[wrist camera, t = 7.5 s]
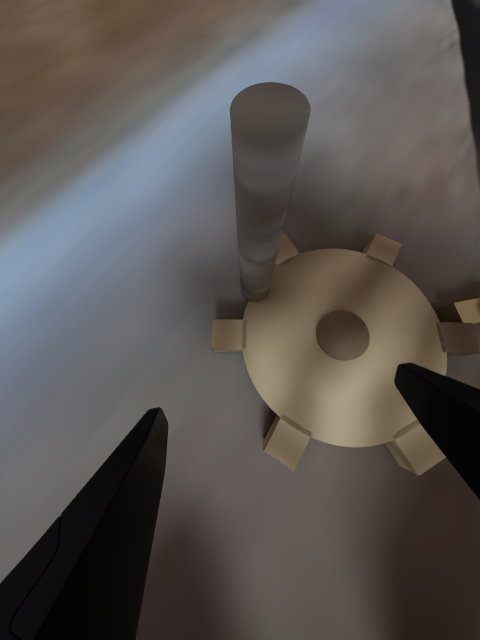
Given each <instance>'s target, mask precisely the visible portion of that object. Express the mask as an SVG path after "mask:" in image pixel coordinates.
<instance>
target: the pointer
mask: <svg viewBox="0 0 480 640" xmlns="http://www.w3.org/2000/svg"><path fill="white" fill-rule="evenodd" d="M438 310H439V312H440V314H441V316H442V318H443V321H444V322H452V323H472V325H474V324H479V323H480V298H477V299H471V300H466V301H461V302H456V303H452V304H450V305H447V306H445V307H442V308H440V309H438Z"/></svg>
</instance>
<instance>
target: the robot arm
mask: <svg viewBox="0 0 480 640" xmlns="http://www.w3.org/2000/svg"><path fill="white" fill-rule="evenodd" d="M394 384H395V386H396V388H397V389H398V391H399V392H400V394H401V396H402V397H403V399H404V400H405V402H406V403H407V405H408V406H409V408H410V409H411V411H412V412H413V414H414V416H415V417H416V419H417V420H418V421H419V423H420V424H421V426H422V427H423V428H424V430H425V431H426V432H427V434H428V435H429V436H430V437H431V439H432V440H433V441H434V442H435V444H436V445H437V446H438V448H439V449H440V450H441V451H442V453H443V454H444V455H445V456H446V458H447V459H448V460H449V462H450V463H451V464H452V465H453V467H454V468H455V469H456V470H457V472H458V473H459V474H460V476H461V477H462V478H463V479H464V481H465V482H466V483H467V484H468V486H469V487H470V488H471V490H472V491H473V492H474V493H475V495H476V496H477V497H478V498H479V500H480V389H477V388H475V387H472V386H470V385H467V384H465V383H462V382H460V381H457V380H455V379H452V378H449V377H447V376H444V375H442V374H439V373H437V372H434V371H432V370H429V369H427V368H424V367H422V366H419V365H417V364H414V363H411V362H408V363H402V364H399V365H398V366H397V370H396V374H395V378H394ZM167 439H168V421H167V419H166V417H165V415H164V412H163V410H162V409H161V408H160V407H158V408H152V409H149V410H148V411H147V412H146V413H145V414H144V416H143V417H142V418H141V419H140V420H139V422H138V423H137V424H136V425H135V426H134V428H133V429H132V430H131V431H130V432H129V434H128V435H127V436H126V437H125V438H124V439H123V441H122V442H121V443H120V444H119V445H118V447H117V448H116V449H115V450H114V451H113V453H112V454H111V455H110V456H109V457H108V459H107V460H106V461H105V462H104V463H103V464H102V466H101V467H100V468H99V469H98V470H97V472H96V473H95V474H94V475H93V476H92V478H91V479H90V480H89V481H88V482H87V484H86V485H85V486H84V487H83V488H82V489H81V491H80V492H79V493H78V494H77V495H76V497H75V498H74V499H73V500H72V501H71V503H70V504H69V505H68V506H67V507H66V509H65V510H64V511H63V512H62V514H61V516H59V517H58V518H57V519H56V520H55V522H54V523H53V524H52V525H51V526H50V527H49V529H48V530H47V531H46V532H45V533H44V535H43V536H42V537H41V538H40V539H39V540H38V542H37V543H36V544H35V545H34V546H33V547H32V548H31V550H30V551H29V552H28V553H27V554H26V555H25V557H24V558H23V559H22V560H21V561H20V562H19V563H18V564H17V565H16V567H15V568H14V569H13V570H12V571H11V572H10V573H9V574H8V575H7V576H6V578H5V579H4V580H3V581H2V582H1V583H0V640H135V638H136V632H137V627H138V621H139V615H140V610H141V604H142V599H143V593H144V587H145V582H146V576H147V570H148V565H149V559H150V554H151V548H152V542H153V537H154V531H155V525H156V520H157V514H158V508H159V503H160V497H161V492H162V486H163V480H164V474H165V465H166V452H167Z"/></svg>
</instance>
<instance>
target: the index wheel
mask: <svg viewBox="0 0 480 640" xmlns="http://www.w3.org/2000/svg"><path fill="white" fill-rule="evenodd" d="M309 116H310V104H309V101H308V100H307V98H306V97H305V95H304V94H303V93H302V92H300V91H299V90H297V89H296V88H294V87H292V86H289V85H286V84H282V83H275V82H267V83H259V84H255V85H252V86H250V87H247V88H245V89H244V90H242V91H241V92H240V93H238V94H237V95H236V97H235V98H234V99H233V101H232V103H231V106H230V118H231V134H232V151H233V167H234V184H235V200H236V216H237V233H238V249H239V265H240V282H241V292H242V295H243V296H244V297H245V298H246V299H247V300H249V301H248V304H247V306H246V309H245V313H244V317H243V320H232V319H213V327H212V343H211V348H212V349H213V350H214V351H215V352H243V356H244V362H245V365H246V368H247V371H248V374H249V376H250V379H251V381H252V383H253V385H254V387H255V388H256V390H257V391H258V393H259V395H260V396H261V398H262V399H263V400H264V401H265V402H266V404H267V405H268V406H269V407H270V408H271V409H272V410H273V411H274V412H275V413H276V414H277V416H276V418H275V420H274V422H273V424H272V426H271V427H270V429H269V431H268V433H267V435H266V437H265V439H264V441H263V443H262V445H263V449H264V451H265V452H266V453H268V454H269V455H271V456H272V457H274V458H275V459H277V460H278V461H280V462H281V463H283V464H284V465H286V466H287V467H288V468H290V469H291V470H293V471H295V469H296V467H297V465H298V463H299V461H300V459H301V457H302V454H303V452H304V450H305V448H306V446H307V444H308V442H309V440H310V438H311V437H312V438H314V439H317V440H319V441H322V442H325V443H329V444H333V445H337V446H345V447H370V446H375V445H380V444H384V443H385V445H386V446H387V448H388V449H389V451H390V452H391V454H392V455H393V457H394V458H395V460H396V461H397V463H398V464H399V466H401V467H403V468H405V469H406V470H408V471H410V472H412V473H414V474H416V475H418V476H420V475H421V474H423V473H424V472H426V471H427V470H428V469H430V468H431V467H433V466H434V465H436V464H437V463H439V462H440V461H442V460H443V459H444V458H446V456H445V455H444V454H443V453H442V451H441V450H440V449H439V448H438V446H437V445H436V444H435V442H434V441H433V440H432V439H431V437H430V436H429V435H428V434H427V432H426V431H425V430H424V428H423V427H422V426H421V424H420V423H419V421H418V420H417V419H416V417H415V416H414V414H413V412H412V411H411V409H410V408H409V406H408V405H407V403H406V402H405V400H404V399H403V397H402V396H401V394H400V392H399V391H398V389H397V388H396V386H395V384H394V378H395V374H396V370H397V366H398V365H399V364H402V363H408V362H411V363H414V364H417V365H419V366H422V367H424V368H427V369H429V370H432V371H434V372H437V373H439V374H442V375H444V376H446V369H447V356H461V355H468V354H475V353H480V350H479V347H478V343H477V339H476V336H475V332H474V328H473V325H472V323H452V322H439V320H438V317H437V315H436V313H435V311H434V309H433V308H432V306H431V304H430V303H429V301H428V300H427V298H426V297H425V296H424V294H423V293H422V292H421V290H420V289H419V288H418V287H417V286H416V285H415V284H414V283H413V282H412V281H411V280H410V279H409V278H407V277H406V276H405V275H404V274H403V273H402V272H400V271H399V270H397V269H396V268H394V267H393V266H392V265H393V263H394V261H395V259H396V257H397V255H398V253H399V251H400V248H401V246H402V244H400V243H398V242H395V241H393V240H391V239H389V238H386V237H384V236H382V235H380V234H377V233H376V235H375V236H374V237H373V238H372V239H371V240H370V242H369V243H368V244H367V245H366V246H365V248H364V250H363V252H362V253H361V252H357V251H352V250H347V249H334V248H330V249H317V250H312V251H307V252H304V253H299V252H298V250H297V249H296V248H295V246H294V245H293V243H292V242H291V241H290V239H289V238H288V237H287V235H286V234H285V233H284V234H282V232H283V227H284V223H285V219H286V215H287V210H288V206H289V202H290V197H291V193H292V189H293V185H294V180H295V176H296V172H297V167H298V163H299V159H300V155H301V150H302V146H303V142H304V137H305V133H306V129H307V125H308V120H309Z"/></svg>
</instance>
